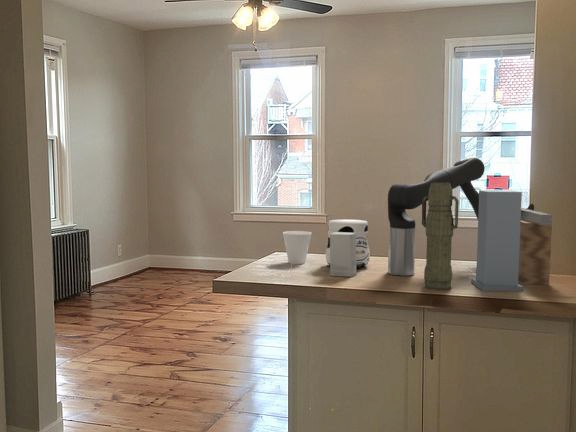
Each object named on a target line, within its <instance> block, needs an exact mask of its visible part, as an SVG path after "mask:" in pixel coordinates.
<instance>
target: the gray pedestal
mask: <svg viewBox="0 0 576 432" xmlns="http://www.w3.org/2000/svg"><path fill="white" fill-rule="evenodd" d="M478 191H479V192H478V193H479V212H478V219H477V244H476V245H477V247H476V270H475V271H476V272H475V273H476V274H475V278H473V277H471V284H473V285H474V286H475V287H476V288H478V289H479V290H480V291H482V292H524V286H523V285H521V284H519V282H518V272H519V248H520V224H521V208H522V196H523V194H522V193H523V192H522V191H518V190H495V189H494V190H490V189H489V190H486V189H485V190H483V189H481V190H480V189H479V190H478Z"/></svg>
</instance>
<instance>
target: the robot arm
mask: <svg viewBox="0 0 576 432" xmlns="http://www.w3.org/2000/svg"><path fill="white" fill-rule="evenodd" d="M484 172H485V164H484V162H483V161H482V160H481V159H480V158H478V157H469V158H465V159H461V160H458V161H456V162H455V163H454V164H453V166H449V167H444V168H442V169H441V168H440V169H439V170H436V171H432V172H431V173H429V174H428V175H427V176H425V178H424V181H423V182H419V183H415V184H412V183H411V184H410V183H408V184H407V183H394V184H392V185H391V186H390V188H389V190H388V193H387V217H388V221H389V246H388V253H387V254H388V255H387V256H388V257H387V258H388V259H387V264H388V265H387V268H388V269H387V272H388V274H389V275H392V276H394V275H395V276H412V275H415V254H416V251H415V249H416V248H415V247H416V220H415V219H414V218H412V217H410V216H409V215H408V214H407V212H406V210H414V209H416V208H418V207H420V206H422V199H423V198H424V197H425V196H428V195H429V188H430V185H431V183H434V182H448V183H450V184H451V187H452V190H454V189H456V188H458V187H460V189H461V190H462V192H463V194H464V196H465V198H466V199H467V200H468V202H469V204H470V205H471V208H472V209H473V212H474V215H475V217H476V219H477V220H478V212H479V192H478V191H477V190H476V188H475V187H474V186H473V183H472V182H474V181H476V180H477V181H478V180H479V179H481V178H482V177H483V175H484ZM427 201H428V199H427V200H426V202H427ZM534 208H535V204H533V203H530V204H529V205H528V206H527V208H525V209H529V210H534Z"/></svg>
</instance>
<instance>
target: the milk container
mask: <svg viewBox="0 0 576 432" xmlns="http://www.w3.org/2000/svg"><path fill="white" fill-rule="evenodd" d="M334 232H348V233H356V269H357V268H362V267H363V268H364V267H365V266H367V265H368V264H369V262H370V256H371V253H370V248H369V242H368V237H369V236H368V235H369V224H368V221H367V220H363V219H362V220H361V219H346V218H345V219H331V220H329V221H328V224H327V235H328V236H327V245H326V250H325V261H326V263H327V265H329V266H330V234H332V233H334Z"/></svg>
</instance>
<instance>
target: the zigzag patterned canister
mask: <svg viewBox="0 0 576 432" xmlns="http://www.w3.org/2000/svg"><path fill="white" fill-rule="evenodd" d="M552 227H553V223H552V222H551V225H538V224H534V223H531V222H527V221H524V220H521V224H520V248H519V272H518V283H520V284H522V285H550V272H551V271H550V268H551V255H552V254H551V253H552V250H551V249H552V231H553V229H552Z"/></svg>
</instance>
